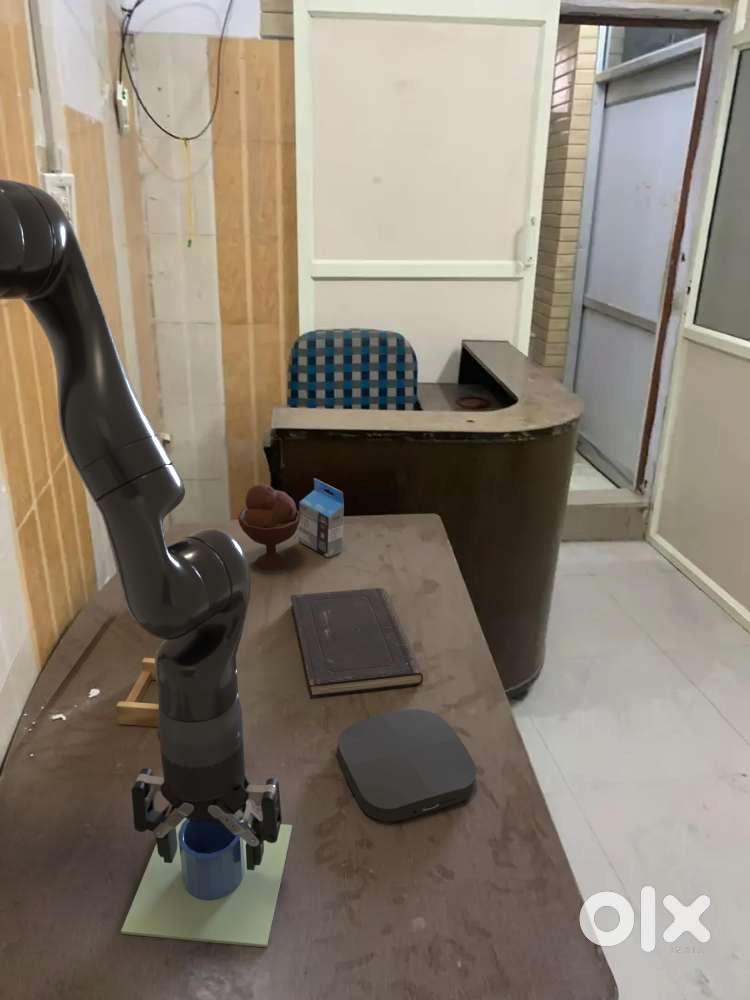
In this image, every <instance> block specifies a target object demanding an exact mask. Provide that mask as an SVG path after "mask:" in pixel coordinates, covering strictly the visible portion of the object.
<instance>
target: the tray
mask: <svg viewBox="0 0 750 1000" xmlns="http://www.w3.org/2000/svg"><path fill="white" fill-rule="evenodd" d="M141 667H142V671H141V673H140V675H139V677H137V680H136V682H135V683H134V684H133V687H132V689H131V691H130V692H129V694H128V696H127V698H126V699H125V700H123V701H121V700H119V701H118V702H117V704H116V706H115V707H116V714H117V721H118V724H119V725H125V726H138V727H139V726H140V727H152V728H153V727H154V728H158V707H159V705H158V703H150V702H149V703H148V702H141V701H142V699H143V697H144V695H145V694H146V692H147V690H148V688H149V686H150V684H151V682H152V681H156V676H155V657H143V659H142V660H141Z"/></svg>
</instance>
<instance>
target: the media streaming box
mask: <svg viewBox="0 0 750 1000" xmlns="http://www.w3.org/2000/svg"><path fill="white" fill-rule="evenodd" d="M336 741H337V742H336V757H337V760H338V763H339V766H340V768H341V771H342V773H343V775H344V778H345V780H346V782H347V784H348V786H349V788H350V790H351V791H352V794H353V795H354V797H355V799H356V801H357V803H358V804H359V806H360V808H361V809H362V811H364V813H366V814H367V815H368V816H370V817H372V818H373V819H376V820H379V821H383V822H397V821H398V822H399V821H402V820H405V819H410V818H414V817H417V816H420V815H424V814H428V813H432V812H434V811H437V810H441V809H444V808H447V807H450V806H453V805H456V804H458V803H462V802H464V801H465V800H467V799H468V798H469V797H470V796H471V795H472V793H473V792H474V789H475V785H476V778H477V775H476V774H477V768H476V764H475V762H474V760H473V758H472V755H471V754H470V753H469V751H468V749H467V747H466V746H465V744H464V743H463V741H462V740H461V738H460V736H459V735H458V734H457V733H456V731H455V730H454V729H453V728H452V726H451V725H450V724H449V723H448V721H446V720H445V719H444V717H442V716H440V715H438V714H437V713H434V712H432V711H428V710H426V709H425V710H424V709H418V708H409V709H401V710H394V711H389V712H384V713H380V714H377V715H372V716H369V717H366V718H364V719H361V720H359V721H356V722H354V723H351V724H349V725H348V726H346V727H345V728H343V730H342V731H341V732H340V734H339V735H338V737H337V740H336Z"/></svg>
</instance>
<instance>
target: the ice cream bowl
mask: <svg viewBox="0 0 750 1000" xmlns="http://www.w3.org/2000/svg"><path fill="white" fill-rule="evenodd" d="M245 506H246V507H244V508H242V509H241V511H240V513H239V515H238V517H237V520H238V523H239V526H240V528H241V530H242V531H243V532H244V534H245V535H246V536H247V537H248V538H249V539H251V540H252V541H254V542H255V543H257V544H258V545H259V544H260V545H264V546H265V547H266V549H265V553H263V554H261V555H259V556H258V557H257V559H256V561H255V565H256V566H257V567H258V568H259V569H262V570H266V571H272V570H280V569H281V568H283V567H285V566H286V564H287V562H288V560H287V558H286V557H285V556H284V555H283V554H282V553H278V552H277V545H279V544H282V543H284V542H285V541H288V540H289V539H291V538H292V537H293V536H294V535H295V534H296V532H297V530H298V528H299V522H300V518H301V512H300V509H297V505H296V503H295V501H294V499H293V498H292V497H291V496H290V495H288V493H286V492H285V491H282V490H277V489H275V488H274V487H272V486H270V485H269V484H265V483H264V484H263V483H259V484H256V485H253V486H252V487H251V488H249V490H248V491H247V493H246V496H245Z"/></svg>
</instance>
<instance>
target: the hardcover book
mask: <svg viewBox="0 0 750 1000" xmlns="http://www.w3.org/2000/svg"><path fill="white" fill-rule="evenodd" d="M290 601H291V605H290V609H291V615H292V620H293V624H294V629H295V633H296V634H295V635H296V639H297V643H298V648H299V654H300V657H301V663H302V667H303V671H304V677H305V681H306V686H307V691H308V695H309V699H316V698H323V697H331V696H340V695H349V694H359V693H366V692H367V693H368V692H377V691H386V690H393V689H403V688H411V687H419V686H420V685H422V684H423V680H424V674H423V672H422V670H421V667H420V666H419V663H418V661H417V658H416V656H415V653H414V651H413V649H412V646H411V644H410V642H409V640H408V637H407V635H406V633H405V630H404V628H403V626H402V623H401V621H400V619H399V616H398V614H397V612H396V609H395V607H394V605H393V603H392V601H391V598H390V596H389V593H388V591H387V588H385V587H372V588H362V589H351V590H350V589H349V590H339V591H338V590H337V591H326V592H325V591H324V592H314V593H304V594H303V593H302V594H292V595H290Z"/></svg>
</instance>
